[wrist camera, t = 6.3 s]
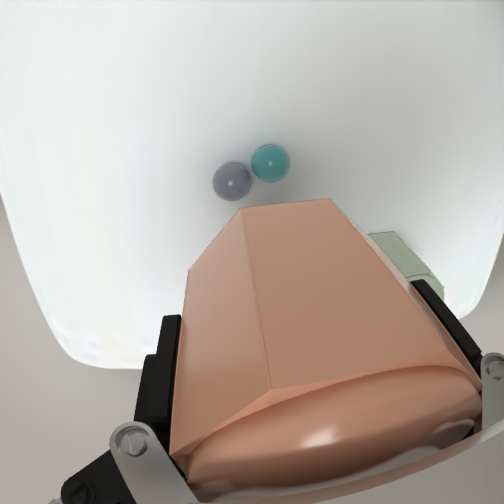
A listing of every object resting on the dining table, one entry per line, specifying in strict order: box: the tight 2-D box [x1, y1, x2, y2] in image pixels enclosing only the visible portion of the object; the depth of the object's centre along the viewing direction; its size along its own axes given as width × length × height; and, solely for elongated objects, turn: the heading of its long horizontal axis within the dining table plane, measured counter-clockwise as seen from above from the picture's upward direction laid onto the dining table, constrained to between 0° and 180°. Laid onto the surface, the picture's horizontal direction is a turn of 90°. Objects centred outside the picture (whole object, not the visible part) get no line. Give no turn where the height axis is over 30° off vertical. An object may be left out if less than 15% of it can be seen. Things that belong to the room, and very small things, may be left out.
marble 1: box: [213, 163, 251, 201], centre depth 24 cm, size 3×3×3 cm
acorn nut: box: [368, 232, 444, 301], centre depth 28 cm, size 8×8×8 cm
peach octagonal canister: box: [169, 198, 484, 503], centre depth 9 cm, size 8×8×8 cm
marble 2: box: [251, 145, 290, 183], centre depth 24 cm, size 3×3×3 cm
